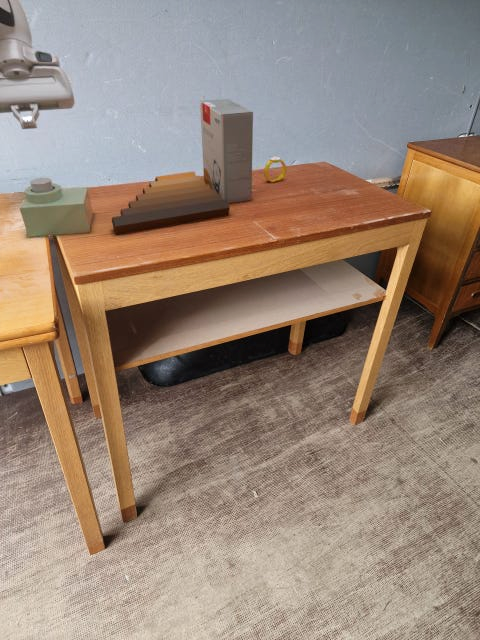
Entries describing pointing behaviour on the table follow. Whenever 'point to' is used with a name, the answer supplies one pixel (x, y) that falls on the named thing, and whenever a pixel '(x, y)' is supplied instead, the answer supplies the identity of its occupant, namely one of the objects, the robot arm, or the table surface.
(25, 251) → the table surface
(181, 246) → the table surface
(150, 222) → the pan flute
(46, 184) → the grey push button
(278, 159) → the yellow toy ring
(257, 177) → the table surface
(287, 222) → the table surface
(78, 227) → the dispenser
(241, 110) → the hard drive box
